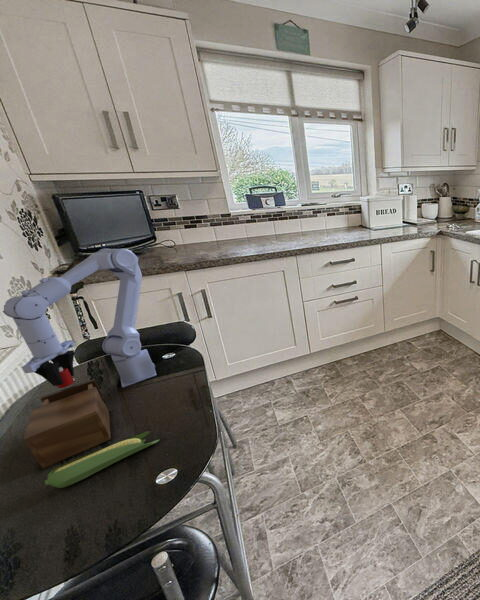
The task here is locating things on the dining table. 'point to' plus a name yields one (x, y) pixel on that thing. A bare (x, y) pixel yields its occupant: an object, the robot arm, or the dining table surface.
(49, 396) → the drawer
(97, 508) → the dining table surface
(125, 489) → the dining table surface
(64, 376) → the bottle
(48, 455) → the cabinet
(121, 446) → the edible corn
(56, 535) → the dining table surface
